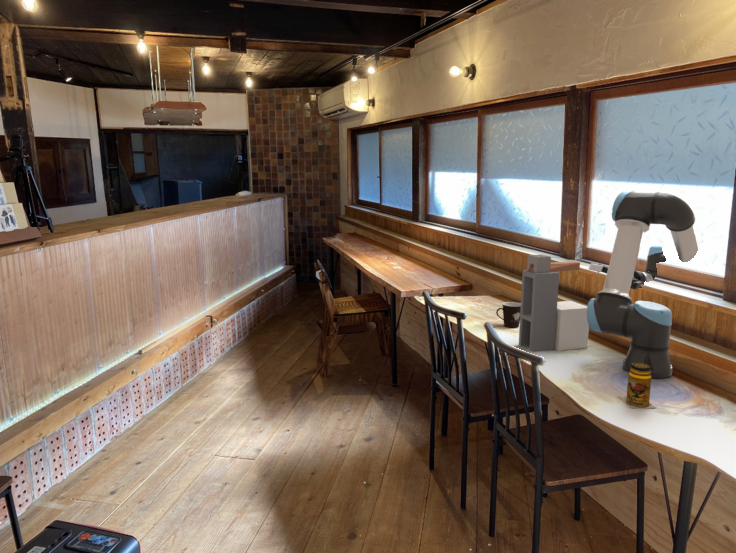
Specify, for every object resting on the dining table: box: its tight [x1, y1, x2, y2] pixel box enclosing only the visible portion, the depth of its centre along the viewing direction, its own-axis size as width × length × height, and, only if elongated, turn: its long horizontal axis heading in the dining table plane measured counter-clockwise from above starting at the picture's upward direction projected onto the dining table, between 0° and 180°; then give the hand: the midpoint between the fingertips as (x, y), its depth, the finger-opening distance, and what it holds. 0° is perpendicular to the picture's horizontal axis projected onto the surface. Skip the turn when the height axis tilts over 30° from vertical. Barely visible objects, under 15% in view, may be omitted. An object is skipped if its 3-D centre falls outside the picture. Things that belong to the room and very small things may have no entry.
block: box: [554, 300, 590, 351], centre depth 214 cm, size 12×13×16 cm
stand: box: [518, 269, 560, 353], centre depth 210 cm, size 9×10×30 cm
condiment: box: [618, 363, 657, 409], centre depth 160 cm, size 7×8×12 cm
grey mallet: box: [526, 254, 581, 273], centre depth 208 cm, size 6×20×6 cm, turn 106°
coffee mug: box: [495, 301, 521, 329], centre depth 241 cm, size 12×9×10 cm
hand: (602, 273), depth 212 cm, fingers open, 13 cm apart
